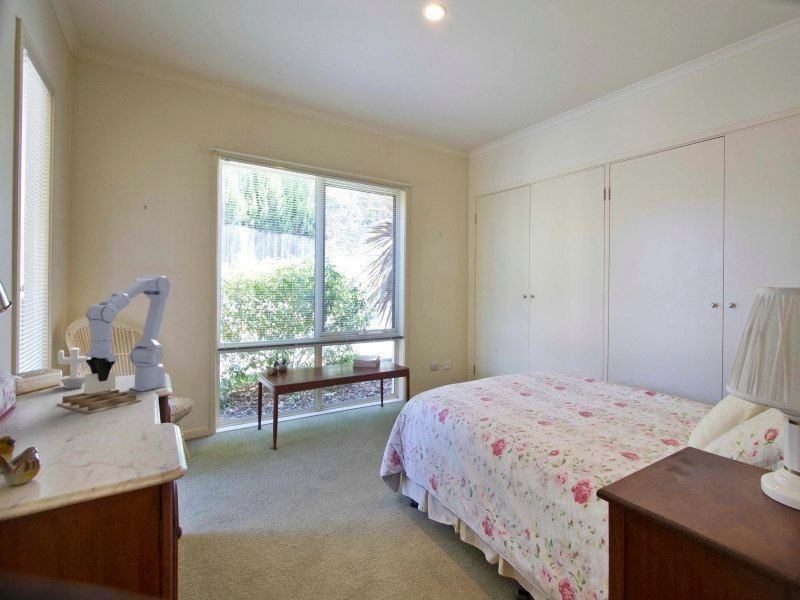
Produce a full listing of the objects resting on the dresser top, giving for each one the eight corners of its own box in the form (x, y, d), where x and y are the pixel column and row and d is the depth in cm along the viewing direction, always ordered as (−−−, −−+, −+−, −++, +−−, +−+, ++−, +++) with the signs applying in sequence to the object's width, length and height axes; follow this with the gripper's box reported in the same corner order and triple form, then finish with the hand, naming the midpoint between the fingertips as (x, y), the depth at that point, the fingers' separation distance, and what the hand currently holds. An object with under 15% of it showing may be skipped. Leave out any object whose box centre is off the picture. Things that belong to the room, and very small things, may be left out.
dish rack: (110, 393, 141) (110, 386, 141) (141, 401, 134) (141, 393, 134) (57, 404, 127) (57, 396, 127) (87, 414, 119) (87, 405, 119)
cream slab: (111, 387, 134) (111, 370, 134) (115, 388, 133) (115, 371, 133) (84, 393, 127) (84, 375, 127) (88, 394, 126) (88, 376, 126)
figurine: (89, 387, 148) (90, 348, 148) (57, 390, 143) (57, 350, 142) (89, 383, 154) (90, 345, 154) (58, 386, 148) (58, 347, 148)
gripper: (75, 339, 129) (74, 379, 130) (100, 343, 123) (99, 385, 123) (99, 337, 136) (98, 375, 136) (123, 341, 129) (123, 381, 130)
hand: (100, 380), depth 130 cm, fingers closed on cream slab, 2 cm apart
